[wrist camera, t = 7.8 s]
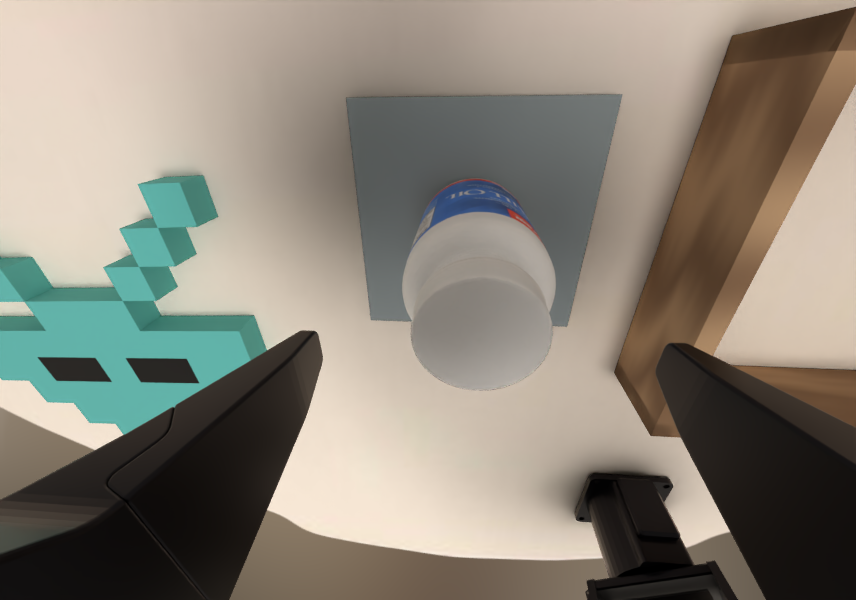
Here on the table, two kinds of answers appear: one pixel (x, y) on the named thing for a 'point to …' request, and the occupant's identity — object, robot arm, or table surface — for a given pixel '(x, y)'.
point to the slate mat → (477, 174)
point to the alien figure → (124, 322)
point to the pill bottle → (478, 288)
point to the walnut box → (743, 206)
